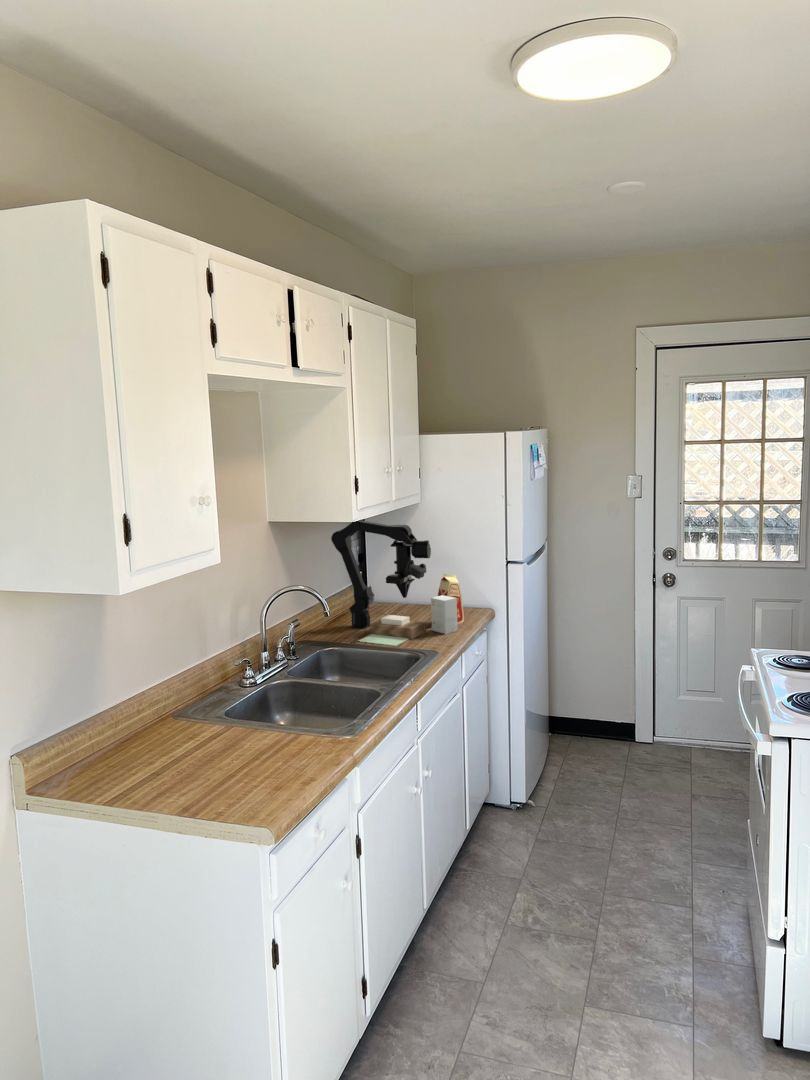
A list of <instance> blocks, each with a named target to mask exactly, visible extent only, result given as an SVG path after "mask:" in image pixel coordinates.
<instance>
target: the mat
mask: <svg viewBox="0 0 810 1080" xmlns="http://www.w3.org/2000/svg"><path fill="white" fill-rule="evenodd" d="M408 640H410V639H409V638H401V637H392V636H383V635H375V634H369V635H366V636H365V637H363V638H361V639H359V640H358V641H360V642H359V643H365V642H367V644H373V643H374V644H375V645H382V644H383V646H390V647H391V646H392V647H397V646H400V645H401V644H403V643H405V642H406V641H408Z"/></svg>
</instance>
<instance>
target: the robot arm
mask: <svg viewBox="0 0 810 1080" xmlns="http://www.w3.org/2000/svg"><path fill="white" fill-rule="evenodd" d="M357 532H363V533H364V532H365V533H371V534H377V535H382V536H384V537H385V536H386V537H388V538H390V539H392V540H394V541H393V542H392V543H391V544H390V547H391V548H392V547H393V548H395V554H396V555H395V557H396V559H395V560H394V561H393V564H394V565H396V570H394V574H393V573H392V574H390V575H387V576H386V577H385V583H386V584H392V585H393V584H394V585H396V587H397V589H398V591H399V592H400V594H401V596H402V599H403V598H404V599H406V598H407V597H408V593H409V590H410V586H411V584H412V583H413V582H414V581H415V580H416V579H418V580H420V579H422V578H424V576H425V573H427V566H426V564H425V563H420V564H417V565H416V564H415V561H414V559H430V558H431V555H432V553H431V551H432V550H431V549H432V548H431V545H430V540H428V539H427V540H418V539H417V538H416V536H415V534H413V531H412V528H411V527H410V526H409V525H408V524H390V525H389V524H383V523H378V522H373V521H367V520H362V519H360V520H359V521H356V522H353V521H352V522H351V523H349V524H348V525H347V526H345V527H344V528H342V529H339V530H337V531H335V532H333V533H332V535H331V537H330V539H331V543H332V544H333V546H334V548H335V549H336V550H337V552H338V553H340V555H341V557H342V560H343V563H344V566H345V569H346V572H347V574H348V577H349V579H350V582H351V584H352V588H353V598H354V603H353V604H352V605H351V606H350V607H349V611H350V614H351V625H349V627H350V628H357V629H365V628H368V627H370V624H371V615H370V611H369V610H368V609H369V608H370V606H371V605H372V604H373V603H374V601H375V594H374V592H373V590H372V586H371V585H369V586H367V584H365V582H364V578H363V577H362V573H361V571H360V568H359V565H358V563H357V560H356V558H355V554H354V553H353V552H354V551H353V545H352V544H353V542H352V537H353V536H354V535H355V534H356V533H357ZM412 557H414V559H412ZM413 577H414V578H413Z"/></svg>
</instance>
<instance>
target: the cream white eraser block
mask: <svg viewBox="0 0 810 1080" xmlns="http://www.w3.org/2000/svg"><path fill="white" fill-rule="evenodd" d="M380 619H381V623H382V624H391V625H401V626H402V625H404V624H406V623H409V622H410V621H411V619H410V616H403V615H397V614H396V615H394V614H388V615H385V616H383V617H381V618H380Z"/></svg>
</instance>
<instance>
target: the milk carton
mask: <svg viewBox="0 0 810 1080" xmlns="http://www.w3.org/2000/svg"><path fill="white" fill-rule="evenodd" d="M441 595H444V596H449V597H453V598H456V600H457V625H459V624H463V622H464V623H465V617H464V616H465V615H464V614H465V613H464V605H463V598H462V597H463V596H462V591H461V585H460V582H459V580H458V579H457V574H447V573H443V577H442V578H441V580H440V582H439V588H438V591H437V596H441Z"/></svg>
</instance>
